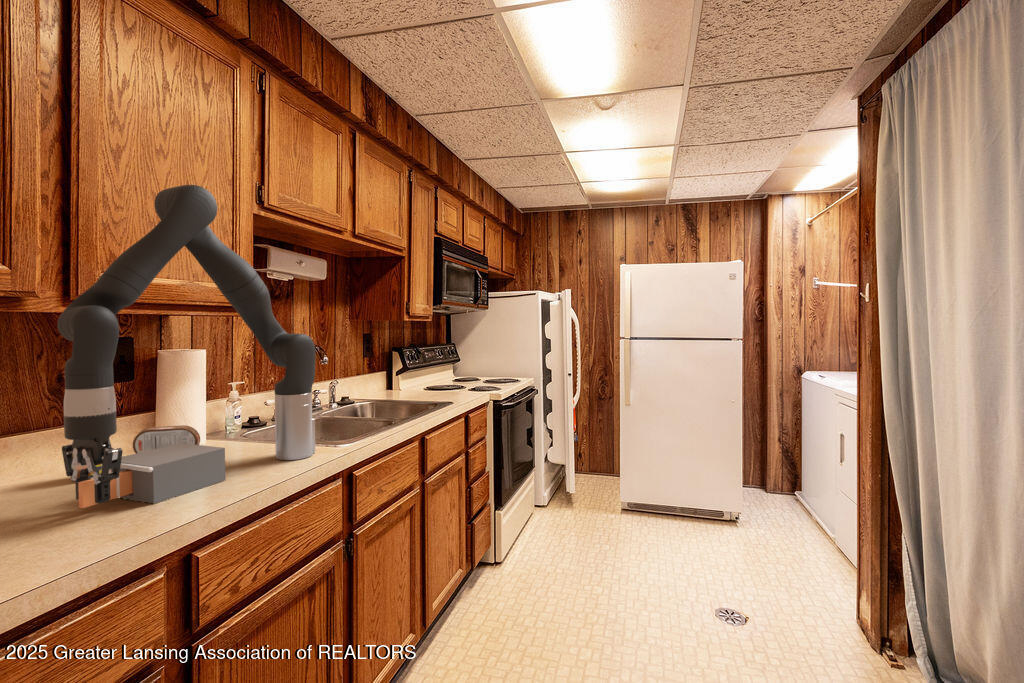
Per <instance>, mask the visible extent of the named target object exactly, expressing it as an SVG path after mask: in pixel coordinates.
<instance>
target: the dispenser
mask: <svg viewBox="0 0 1024 683" xmlns="http://www.w3.org/2000/svg"><path fill="white" fill-rule="evenodd" d="M101 466H102V464H101ZM125 470H133V493H132V494H129V495H125V496H122V497H120V498H125V499H124V500H126V499H131V500H130V501H132V500H136V501H135V502H138V501H143V502H142V503H144V502H148V503H147V504H150V503H156V504H158V502H159V503H161V501H162V502H165V501H168V500H171V499H174V498H176V497H175V496H177V497H180V496H183V495H185V493H186V494H189V493H192V492H194V491H193V490H195V491H197V490H196V489H198V490H201V489H204V488H207V487H210V486H213V485H216V484H219V483H222V482H225V481H226V448H225V447H220V446H210V445H203V444H202V445H200V444H199V445H193V444H184V443H180V444H175V445H171V446H167V447H162V448H158V449H154V450H149V451H145V452H140V453H133V454H128V455H124V456H123V455H122V459H121V466H120V472H121V471H125ZM111 472H112V473H113V468H112V469H111ZM224 480H225V481H224ZM221 481H222V482H221ZM218 482H219V483H218ZM215 483H216V484H215ZM212 484H213V485H212ZM203 487H204V488H203ZM200 488H201V489H200ZM191 491H192V492H191ZM188 492H189V493H188ZM182 494H183V495H182ZM179 495H180V496H179ZM173 497H174V498H173ZM120 498H119V499H120ZM170 498H171V499H170ZM167 499H168V500H167ZM164 500H165V501H164Z"/></svg>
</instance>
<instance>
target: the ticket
mask: <svg viewBox="0 0 1024 683" xmlns="http://www.w3.org/2000/svg"><path fill="white" fill-rule="evenodd" d="M94 484H95V482H94V479H90V480H86V481H82V482H78V491H79V500H78V508H80V509H85V508H89V507H92V506H95V505H99V503H95V488H94ZM132 493H133V470H125V471H121V472H120V473H119V477H118V478H116V479H113V480H111V481H110V500H109V501H111V500H115V499H120V498H119V497H122V496H125V495H129V494H132Z"/></svg>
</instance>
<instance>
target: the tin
mask: <svg viewBox="0 0 1024 683" xmlns="http://www.w3.org/2000/svg"><path fill="white" fill-rule="evenodd" d="M180 443H184V444H193V445H200V443H201V436H200V432H198V430H197V429H195V428H194V427H193V426H189V425H184V424H183V425H182V424H181V425H165V426H149V427H147V428H143V429H142V430H141V431H139V432H138V434H136V436H135V437H134V438H133V440H132V449H133V452H134V454H136V453H140V452H145V451H149V450H154V449H158V448H162V447H167V446H171V445H175V444H180Z"/></svg>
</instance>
